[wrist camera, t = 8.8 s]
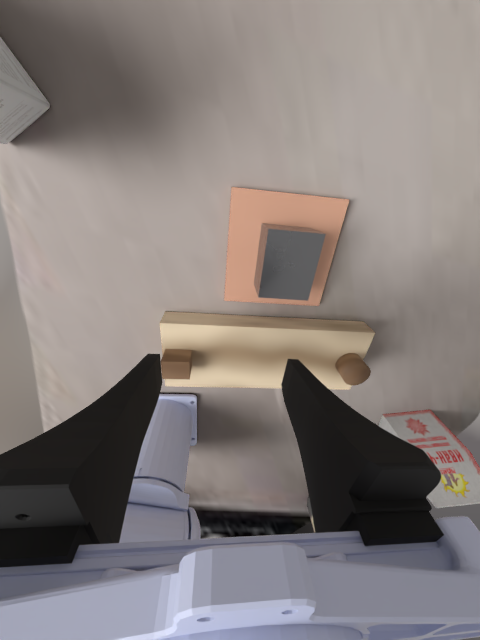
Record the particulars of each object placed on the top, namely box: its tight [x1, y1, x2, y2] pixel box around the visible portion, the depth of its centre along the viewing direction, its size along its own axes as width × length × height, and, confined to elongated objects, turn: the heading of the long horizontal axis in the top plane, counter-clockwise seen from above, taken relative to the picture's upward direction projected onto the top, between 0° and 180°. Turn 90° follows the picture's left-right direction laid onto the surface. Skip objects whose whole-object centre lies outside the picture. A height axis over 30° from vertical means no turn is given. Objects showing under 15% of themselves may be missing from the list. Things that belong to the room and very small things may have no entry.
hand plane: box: [160, 311, 375, 390], centre depth 23 cm, size 8×20×4 cm, turn 85°
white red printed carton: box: [379, 410, 480, 508], centre depth 28 cm, size 4×7×10 cm, turn 93°
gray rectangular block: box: [254, 223, 326, 301], centre depth 18 cm, size 5×4×3 cm
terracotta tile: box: [224, 187, 349, 306], centre depth 19 cm, size 9×9×1 cm
